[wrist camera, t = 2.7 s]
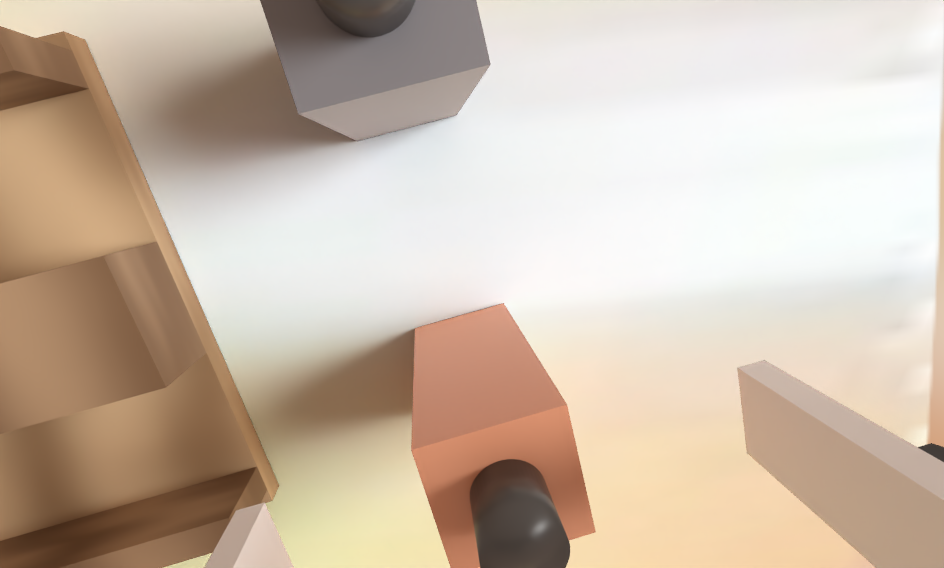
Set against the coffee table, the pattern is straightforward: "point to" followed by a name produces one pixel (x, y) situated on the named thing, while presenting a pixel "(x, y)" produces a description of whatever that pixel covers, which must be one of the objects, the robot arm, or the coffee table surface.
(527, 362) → the terracotta plug
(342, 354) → the coffee table surface
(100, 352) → the wooden ridged block
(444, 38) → the charcoal plug
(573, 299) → the coffee table surface
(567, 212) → the coffee table surface
